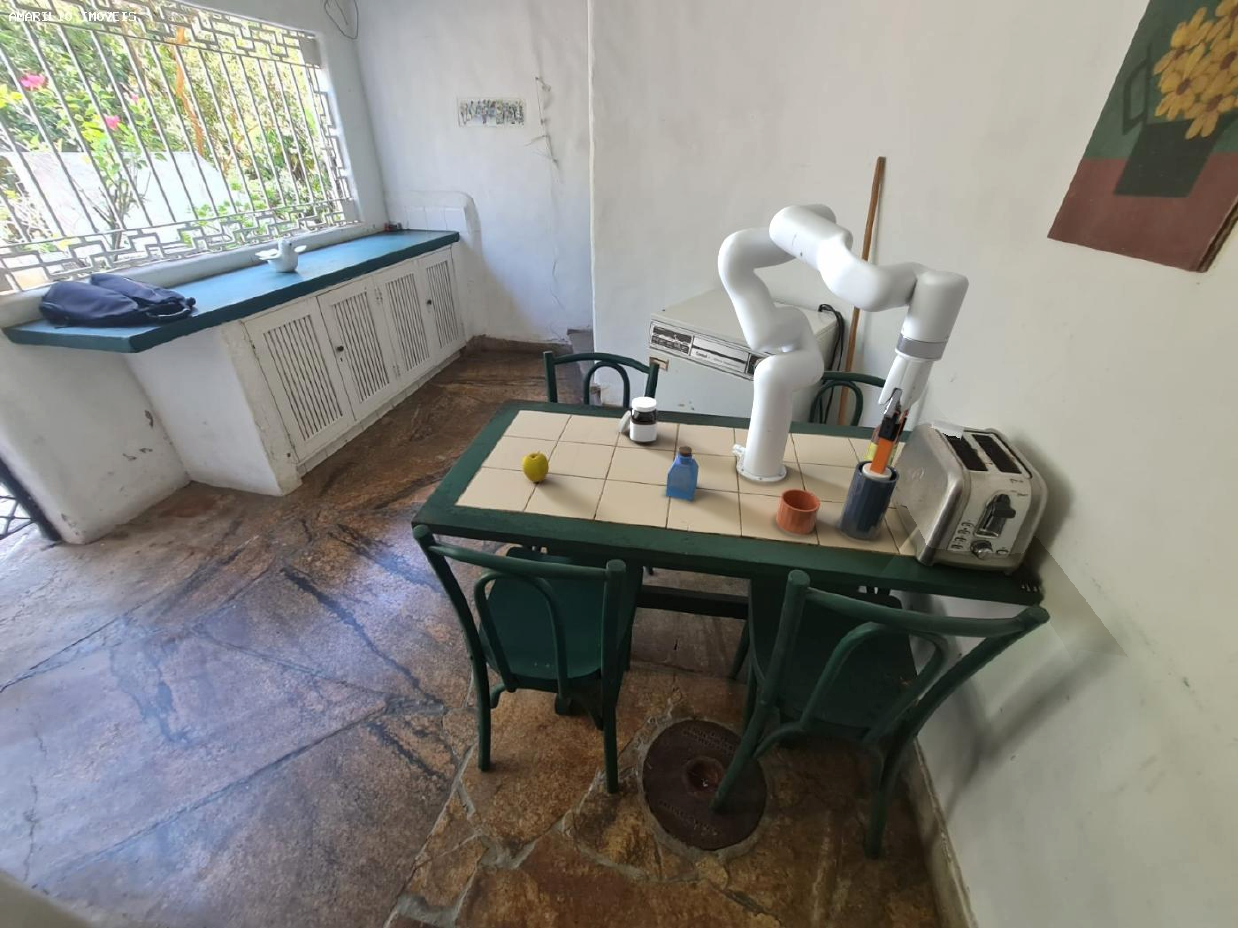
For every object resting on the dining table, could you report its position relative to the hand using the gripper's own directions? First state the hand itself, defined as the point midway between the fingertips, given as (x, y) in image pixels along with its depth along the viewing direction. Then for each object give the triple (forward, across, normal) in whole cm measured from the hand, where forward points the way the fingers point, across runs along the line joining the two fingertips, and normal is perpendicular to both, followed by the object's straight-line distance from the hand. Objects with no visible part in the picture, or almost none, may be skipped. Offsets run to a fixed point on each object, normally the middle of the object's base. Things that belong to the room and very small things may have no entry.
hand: (889, 435), depth 100 cm
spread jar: (+25, +4, -63) cm, 68 cm away
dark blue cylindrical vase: (+24, 0, 0) cm, 24 cm away
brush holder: (+24, +8, -11) cm, 28 cm away
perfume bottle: (+25, +16, -37) cm, 47 cm away
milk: (+25, -20, +6) cm, 32 cm away
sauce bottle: (+25, -24, -6) cm, 35 cm away
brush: (+15, 0, 0) cm, 15 cm away
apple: (+25, +38, -66) cm, 80 cm away
